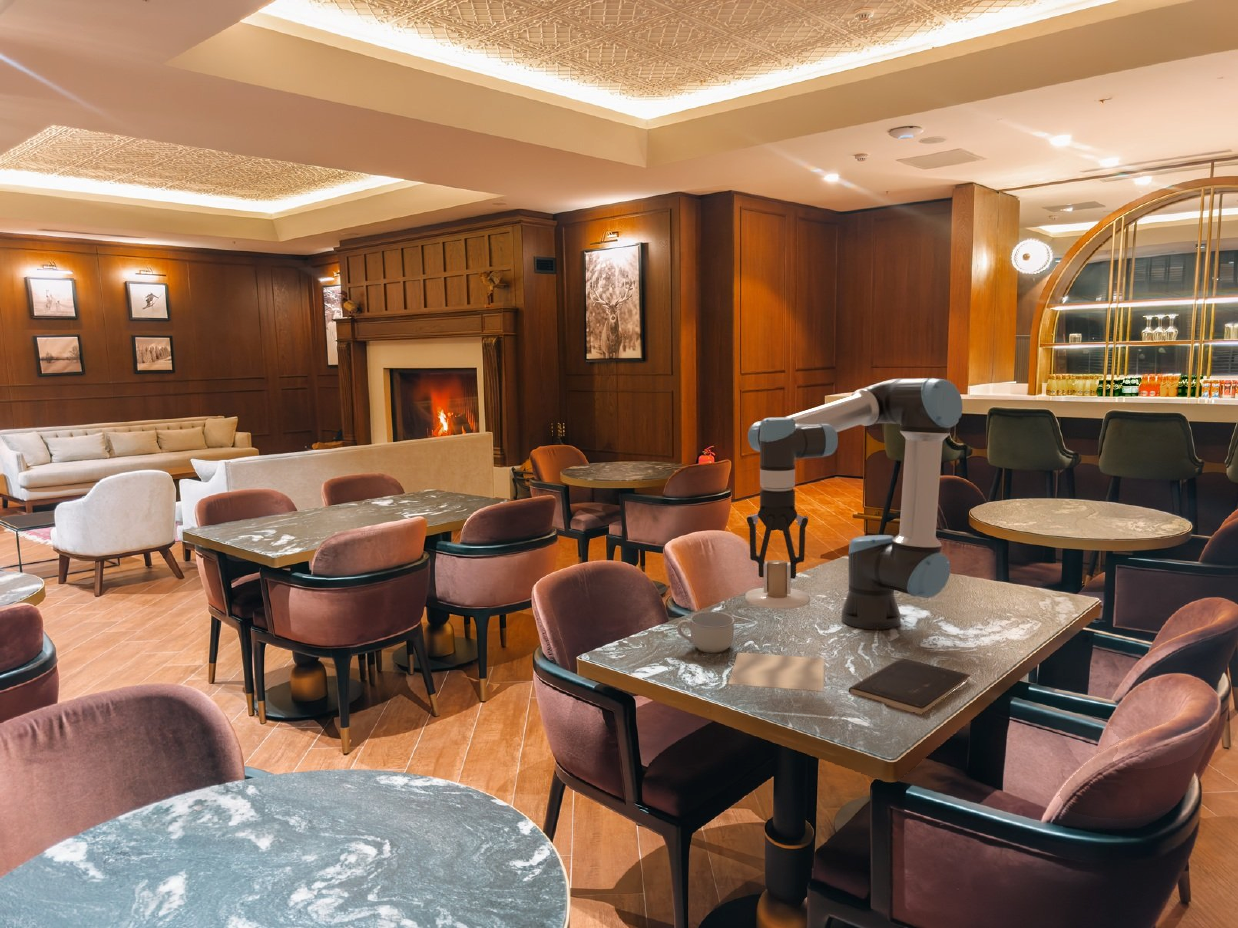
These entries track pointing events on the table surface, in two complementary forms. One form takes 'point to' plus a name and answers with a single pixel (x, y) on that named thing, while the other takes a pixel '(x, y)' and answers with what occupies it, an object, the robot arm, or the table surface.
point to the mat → (778, 671)
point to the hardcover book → (910, 685)
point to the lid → (777, 590)
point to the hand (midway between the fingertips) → (777, 591)
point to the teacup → (709, 631)
